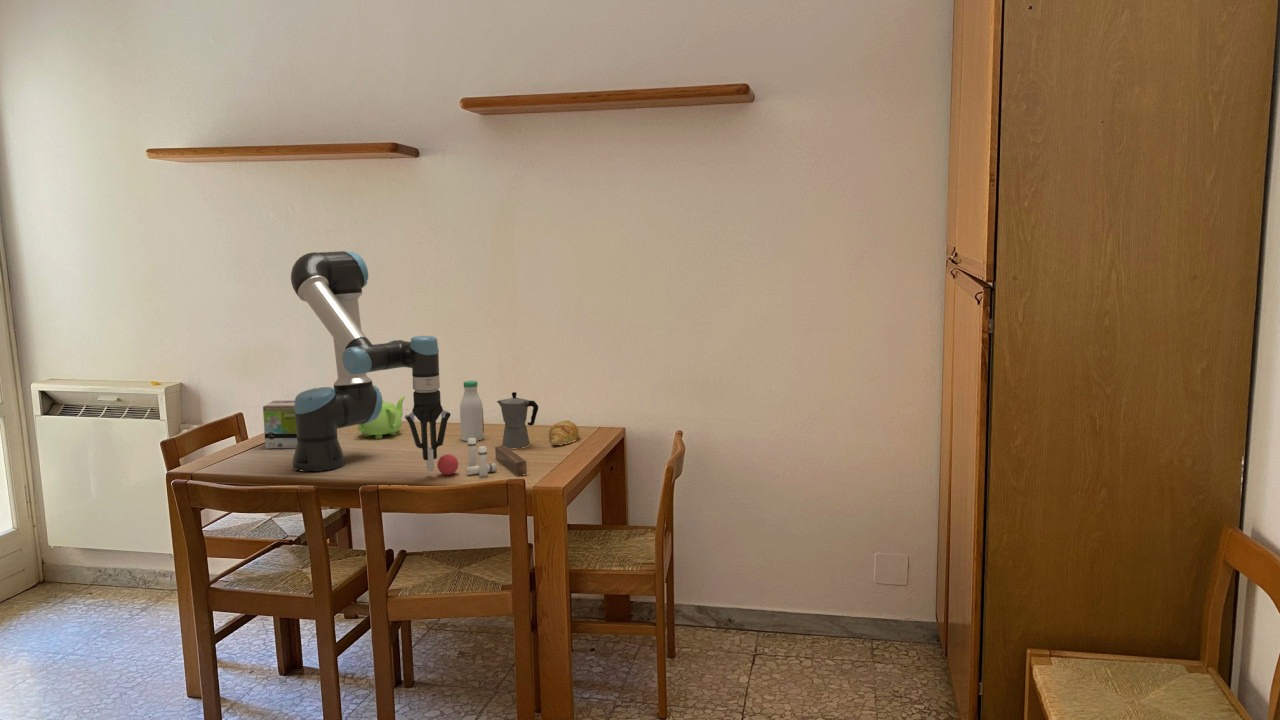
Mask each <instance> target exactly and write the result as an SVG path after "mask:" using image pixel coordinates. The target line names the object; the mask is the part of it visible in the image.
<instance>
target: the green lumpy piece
mask: <svg viewBox="0 0 1280 720" xmlns="http://www.w3.org/2000/svg"><path fill="white" fill-rule="evenodd" d="M405 398H406V396H402V397H400V398H399V399H398V400H397V402H396V403H397V404H396V405H395V403H392V402H391V403H390V402H384V399H382V409H381V412H380V414H379V415H378V417H377V418H376V419H375V420H374V421H371V422H368V423H365V424H358V425H357V430H358V431H359V432H361V433H362V434H364V437H365V436H370V437H372V436H374V439H375V438H376V439H375V440H381V438H382V439H383V438H384V437H383V435H387V434H389V436H390V435H396V436H397V435H398V433H397V432H398V431H400V429H401V427H402V426H403V422H402V416H403V411H404V410H403V403H404V400H405Z"/></svg>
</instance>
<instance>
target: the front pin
mask: <svg viewBox="0 0 1280 720" xmlns="http://www.w3.org/2000/svg"><path fill="white" fill-rule="evenodd" d="M497 468H498V467H497V463H495V462H493V463H487V470H488V473H492V472H493V473H494V472H497V471H498V469H497ZM465 471H466V475H467V476H472V475H473V476H474V475H479V464H477V466H471V467H469V466H466V468H465Z"/></svg>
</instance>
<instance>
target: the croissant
mask: <svg viewBox="0 0 1280 720" xmlns="http://www.w3.org/2000/svg"><path fill="white" fill-rule="evenodd" d="M578 436H579V427H578V426H577V424H575V423H574V422H572V421H571V420H561V421H559V422H557V423H554V424H553V425H552V426H551V427H550V428H549V430H548V439H549V441H550V443H551V446H553V445H559V444H564V443H568V442H571V441H573V440H576V441H577V439H578Z"/></svg>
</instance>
